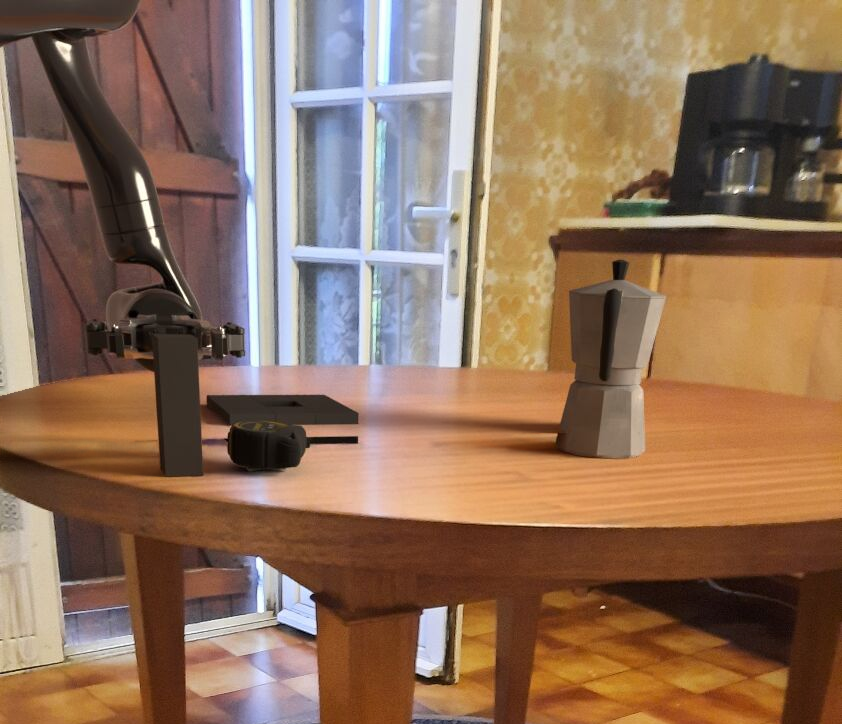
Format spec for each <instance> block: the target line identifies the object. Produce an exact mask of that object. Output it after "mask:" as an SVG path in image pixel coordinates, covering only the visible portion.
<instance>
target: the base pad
mask: <svg viewBox="0 0 842 724" xmlns="http://www.w3.org/2000/svg"><path fill="white" fill-rule="evenodd" d="M206 407H207V408H209V409H210V410H211V411H212V412H213V413H215V415H217V416H218V417H219V418H220V419H221V420H222V421H224V423H226V424H227V425H228V426H229V427H231V426H232V425H234V424H236V423H239V422H246V421H267V422H275V423H281V424H286V425H299V426H326V425H327V426H330V425H334V426H335V425H359V422H360V421H359V420H360V419H359V415H360V414H359V412H358V411H356V410H354V409H353V408H350V407H349V406H347V405H345V404H342V403H341V402H339V401H337V400H335V399H333V398H332V397H329V396H328V395H326V394H206ZM310 437H311V439H310V440H309V443H310V445H344V444H345V445H346V444H349V445H350V444H351V445H352V444H359V435H341V436H339V435H338V436H336V435H335V436H310ZM227 438H228V437H225V438H222V439H223V440H224V441H225V442H226V443H227Z"/></svg>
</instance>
